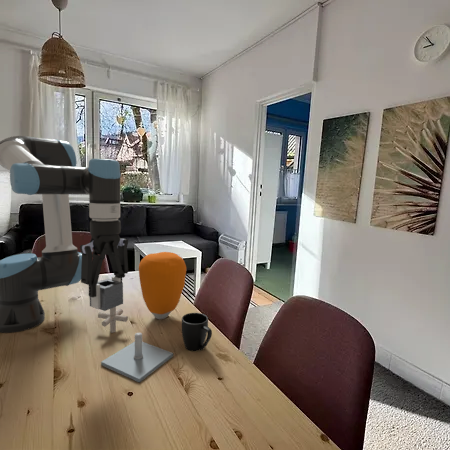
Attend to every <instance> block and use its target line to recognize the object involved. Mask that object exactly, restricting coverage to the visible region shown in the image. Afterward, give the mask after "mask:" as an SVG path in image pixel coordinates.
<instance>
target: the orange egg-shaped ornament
mask: <svg viewBox="0 0 450 450" xmlns="http://www.w3.org/2000/svg"><path fill="white" fill-rule="evenodd" d="M138 274H139V275H138V276H139V283H140V290H141V294H142V298H143V301H144V303H145V306H146V308H147V310H148V312H150V313H151V315H153V317H154V318H155V319H157V320H162V319H163V320H164V319H166V318H167V317H168V316H169V315H170V314H171V313H172V312H173V311H174V310H175V309H176V308H177V307H178V305H179V303H180V299H181V296H182V293H183V290H184V288H185V284H186V283H185V282H186V281H185V280H186V275H187V265H186V262H185V260H184V258H183V257H182V256H180V255H178V254H177V253H175V252H171V251H170V252H169V251H160V252H154V253H149V254H146V255H145V256H144V257H143V258H142V259H141V260H140V262H139V264H138Z"/></svg>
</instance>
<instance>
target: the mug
mask: <svg viewBox="0 0 450 450" xmlns="http://www.w3.org/2000/svg"><path fill="white" fill-rule="evenodd" d="M212 331H213V330H212V329H211V328H210V327H209V317H208V315H207V314H204V313H201V312H190V313H186V314H184V315H183V316H182V317H181V336H182V340H183V344H184V348H185V350H187V351H189V352H199V351H203V350H205V348H206V347H207V345H208V343H209V342H210V340H211V338H212V335H213V332H212Z"/></svg>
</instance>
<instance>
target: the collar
mask: <svg viewBox="0 0 450 450" xmlns="http://www.w3.org/2000/svg"><path fill="white" fill-rule="evenodd" d="M97 284H100V309H99V310H101V311H103V312H106V311H110V309H111V308H114V307H116V308H117V307H119V306H120V305H124V283H123V281H122V282H119V281H115V280H112V278H111V279H110V278H106V279H103V280H98V283H97ZM89 307H91V297H90V296H89Z"/></svg>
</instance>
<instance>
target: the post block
mask: <svg viewBox="0 0 450 450" xmlns="http://www.w3.org/2000/svg"><path fill="white" fill-rule="evenodd" d="M173 357H174V353H173V352H171V351H169V350H165V349H163V348H161V347H157V346H155V345H153V344H150V343H147V342H144V341H143V333H142V332H136V333H134V341H133V342H132V343H130V344H128V345H127V346H125V347H123V348H122V349H120V350H118V351H117V352H115V353H114V354H112V355H111V354H110V356H108V357H107V358H105V359H103V360H101V361H100V365H101V366H103V367H104V368H106V369H109V370H110V371H111V370H112V371H113V372H115V373H118V374H120V375H122V376H124V377H126V378H129V379H131V380H133V381H135V382H136V383H141V382H142V381H143V380H145V379H146V378H148V377H149V375H151V374H152V373H153V372H154V371H156V370H158V369H159V368H160V367H161V366H163V365H164V364H165V363H166V362H168V361H169V360H170V359H171V358H173Z"/></svg>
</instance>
